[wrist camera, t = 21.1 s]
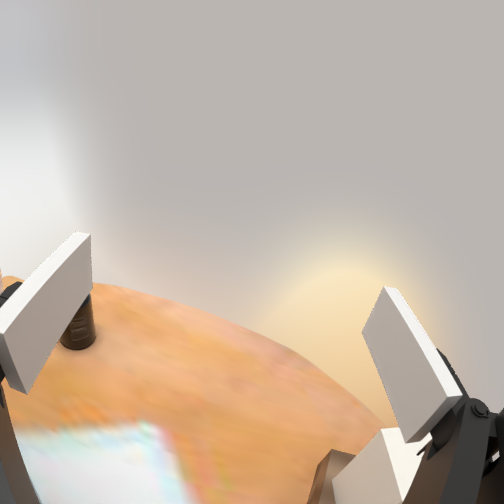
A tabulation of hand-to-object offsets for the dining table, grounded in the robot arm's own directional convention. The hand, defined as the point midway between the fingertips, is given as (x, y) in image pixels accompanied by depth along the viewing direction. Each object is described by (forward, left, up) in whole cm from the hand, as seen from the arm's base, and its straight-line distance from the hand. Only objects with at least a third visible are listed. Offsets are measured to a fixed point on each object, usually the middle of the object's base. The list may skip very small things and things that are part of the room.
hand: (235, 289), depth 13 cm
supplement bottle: (+16, +30, -32) cm, 47 cm away
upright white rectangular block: (+6, -19, -27) cm, 34 cm away
